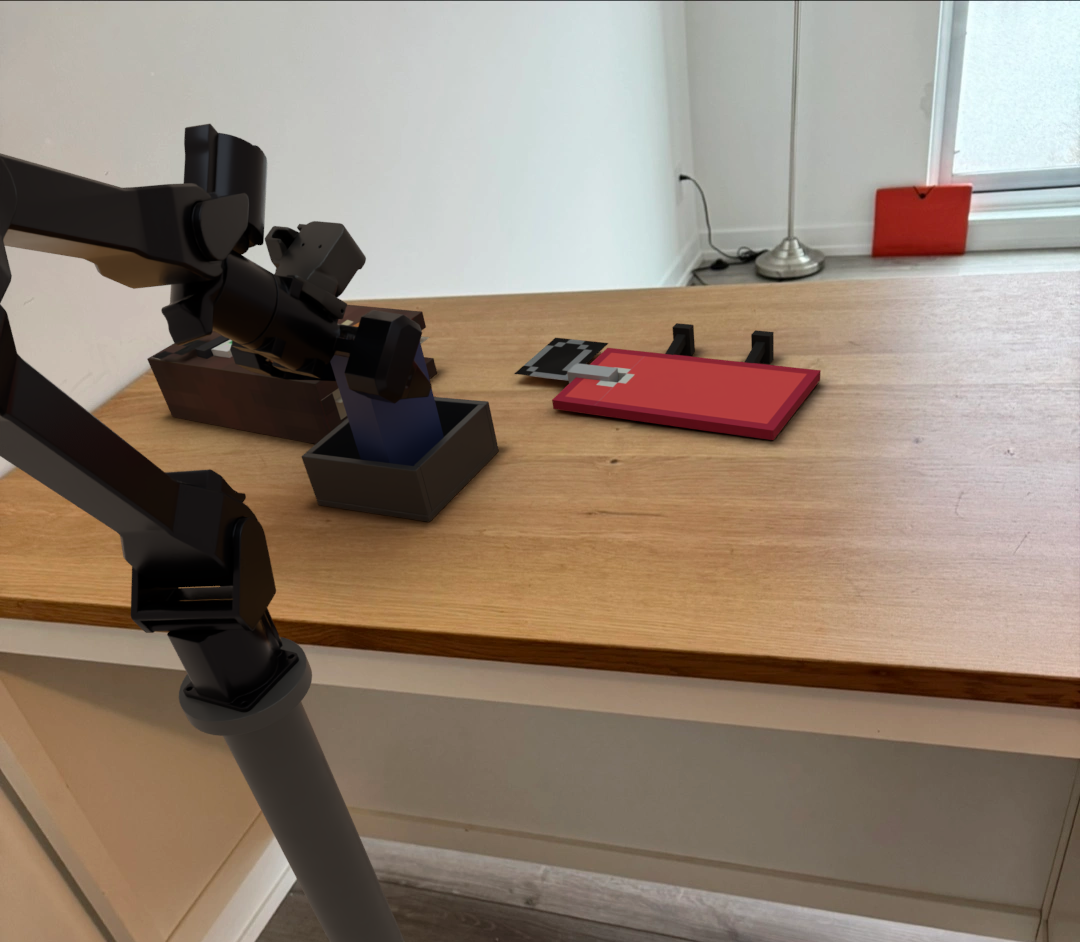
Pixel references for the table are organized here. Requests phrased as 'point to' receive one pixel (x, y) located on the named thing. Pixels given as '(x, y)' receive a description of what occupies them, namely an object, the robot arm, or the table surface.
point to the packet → (390, 421)
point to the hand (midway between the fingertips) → (390, 382)
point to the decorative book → (254, 388)
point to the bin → (404, 466)
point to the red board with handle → (677, 384)
